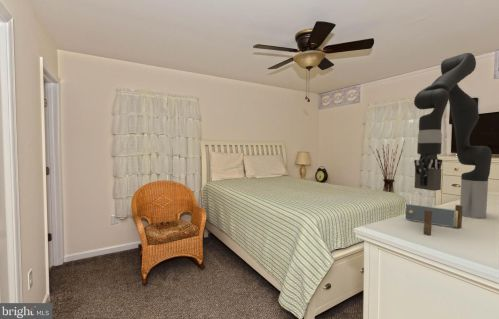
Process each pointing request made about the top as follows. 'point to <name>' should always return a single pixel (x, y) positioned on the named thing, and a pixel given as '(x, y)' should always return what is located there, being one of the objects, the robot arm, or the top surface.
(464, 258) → the top surface
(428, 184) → the block
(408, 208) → the door
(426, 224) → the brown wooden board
